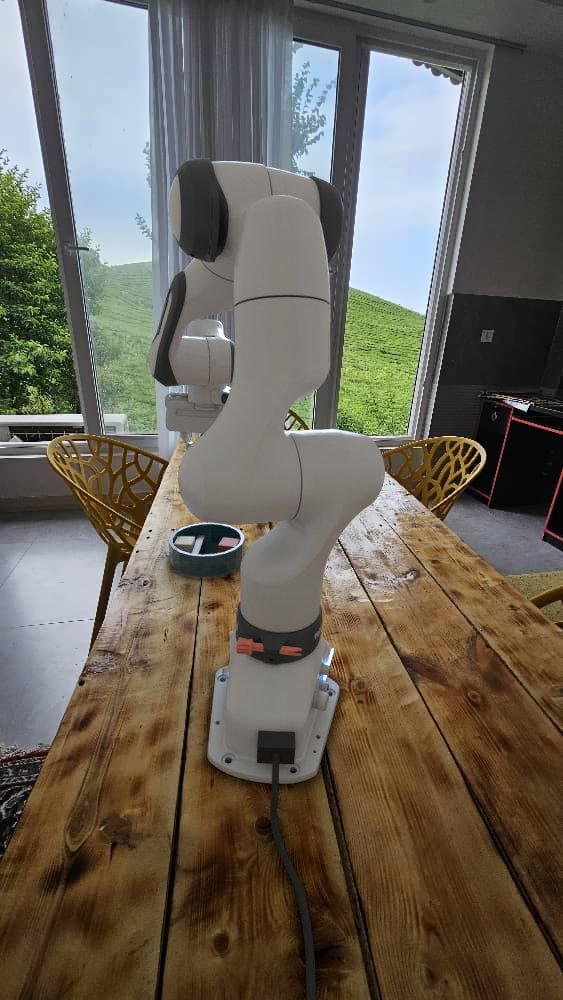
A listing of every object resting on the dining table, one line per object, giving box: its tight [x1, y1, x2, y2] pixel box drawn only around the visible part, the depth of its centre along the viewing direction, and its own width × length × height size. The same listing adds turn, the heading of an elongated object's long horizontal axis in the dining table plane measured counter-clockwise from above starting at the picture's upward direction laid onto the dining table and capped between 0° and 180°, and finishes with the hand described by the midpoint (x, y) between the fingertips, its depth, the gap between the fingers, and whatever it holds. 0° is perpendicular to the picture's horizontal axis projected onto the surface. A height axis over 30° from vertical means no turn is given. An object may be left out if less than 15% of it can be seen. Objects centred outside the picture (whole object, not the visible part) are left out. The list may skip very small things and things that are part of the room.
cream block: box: [174, 536, 195, 553], centre depth 101 cm, size 4×4×4 cm
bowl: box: [168, 522, 246, 578], centre depth 101 cm, size 17×17×6 cm
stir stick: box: [191, 535, 205, 555], centre depth 100 cm, size 12×2×3 cm, turn 0°
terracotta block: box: [218, 537, 240, 553], centre depth 101 cm, size 4×4×4 cm
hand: (208, 451), depth 109 cm, fingers open, 8 cm apart
